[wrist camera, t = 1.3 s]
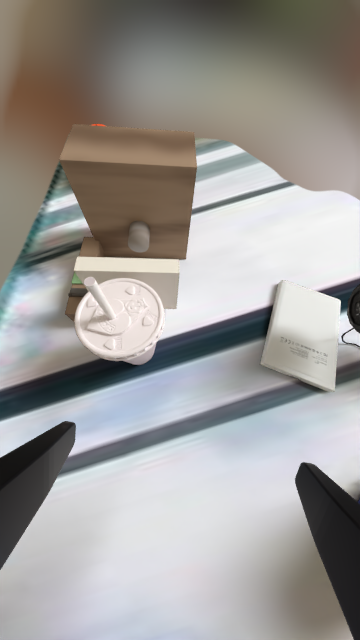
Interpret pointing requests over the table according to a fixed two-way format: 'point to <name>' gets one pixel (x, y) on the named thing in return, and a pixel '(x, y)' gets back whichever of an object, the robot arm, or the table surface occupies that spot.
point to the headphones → (354, 311)
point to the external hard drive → (303, 335)
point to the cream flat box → (132, 274)
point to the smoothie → (120, 320)
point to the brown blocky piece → (131, 192)
